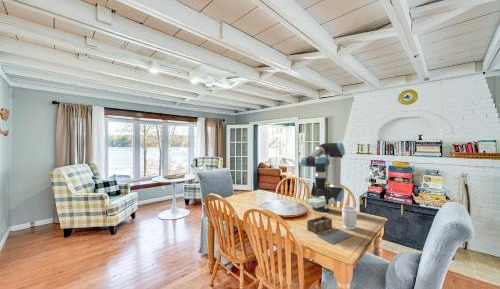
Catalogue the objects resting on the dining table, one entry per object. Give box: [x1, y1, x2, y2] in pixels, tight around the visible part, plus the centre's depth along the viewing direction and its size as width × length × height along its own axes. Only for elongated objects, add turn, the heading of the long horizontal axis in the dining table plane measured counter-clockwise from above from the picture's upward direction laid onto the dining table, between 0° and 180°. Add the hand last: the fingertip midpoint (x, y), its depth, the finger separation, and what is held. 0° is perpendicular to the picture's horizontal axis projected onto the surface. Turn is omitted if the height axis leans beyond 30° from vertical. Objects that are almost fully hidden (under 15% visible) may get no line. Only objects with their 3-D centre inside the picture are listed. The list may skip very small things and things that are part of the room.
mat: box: [316, 228, 354, 245], centre depth 145 cm, size 22×13×1 cm, turn 120°
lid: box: [305, 196, 336, 208], centre depth 155 cm, size 22×10×4 cm, turn 119°
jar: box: [341, 205, 358, 231], centre depth 158 cm, size 11×10×15 cm
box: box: [306, 215, 333, 235], centre depth 157 cm, size 18×8×7 cm, turn 120°
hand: (320, 206), depth 155 cm, fingers closed on lid, 10 cm apart
